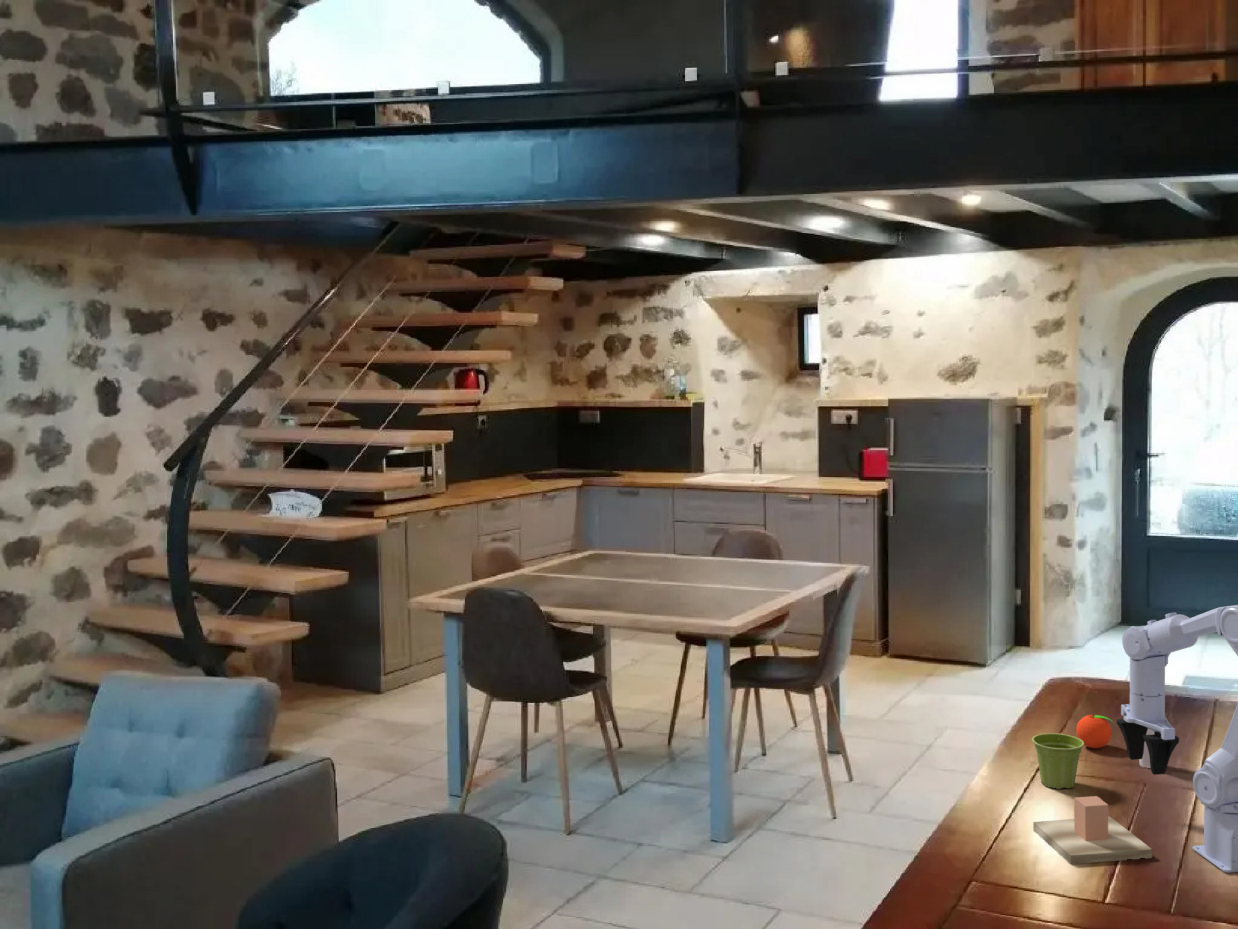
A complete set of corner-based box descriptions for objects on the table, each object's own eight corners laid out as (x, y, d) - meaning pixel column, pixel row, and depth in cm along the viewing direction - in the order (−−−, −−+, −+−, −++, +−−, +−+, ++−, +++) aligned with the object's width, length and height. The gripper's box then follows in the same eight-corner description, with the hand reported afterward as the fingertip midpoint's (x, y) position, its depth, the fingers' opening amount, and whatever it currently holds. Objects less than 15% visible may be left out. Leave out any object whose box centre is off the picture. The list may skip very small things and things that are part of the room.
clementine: (1114, 743, 249) (1114, 710, 249) (1119, 754, 243) (1119, 720, 242) (1074, 741, 251) (1074, 709, 251) (1078, 752, 245) (1078, 719, 244)
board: (1152, 858, 194) (1152, 849, 194) (1070, 864, 193) (1070, 855, 193) (1109, 824, 208) (1109, 816, 208) (1033, 830, 207) (1033, 822, 207)
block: (1108, 839, 198) (1108, 805, 198) (1085, 840, 198) (1085, 806, 198) (1096, 829, 202) (1096, 796, 202) (1074, 831, 202) (1074, 797, 202)
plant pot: (1042, 772, 234) (1042, 729, 234) (1090, 781, 228) (1090, 738, 228) (1025, 786, 227) (1024, 743, 226) (1074, 796, 221) (1074, 752, 220)
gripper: (1105, 682, 215) (1105, 754, 217) (1147, 705, 201) (1147, 782, 202) (1142, 679, 216) (1141, 751, 217) (1186, 703, 201) (1186, 779, 203)
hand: (1146, 766), depth 210 cm, fingers open, 7 cm apart
